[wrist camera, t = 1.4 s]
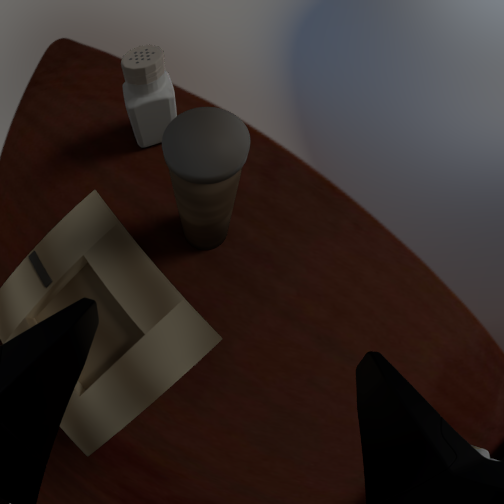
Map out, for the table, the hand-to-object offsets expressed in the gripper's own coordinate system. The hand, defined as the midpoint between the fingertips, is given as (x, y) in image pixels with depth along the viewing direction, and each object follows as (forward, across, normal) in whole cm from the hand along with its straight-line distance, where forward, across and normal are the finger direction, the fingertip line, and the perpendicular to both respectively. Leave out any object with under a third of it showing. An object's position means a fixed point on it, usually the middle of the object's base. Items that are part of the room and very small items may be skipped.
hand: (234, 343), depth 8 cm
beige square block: (+8, +10, +11) cm, 17 cm away
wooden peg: (+15, +3, +4) cm, 16 cm away
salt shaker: (+21, +10, -2) cm, 24 cm away
